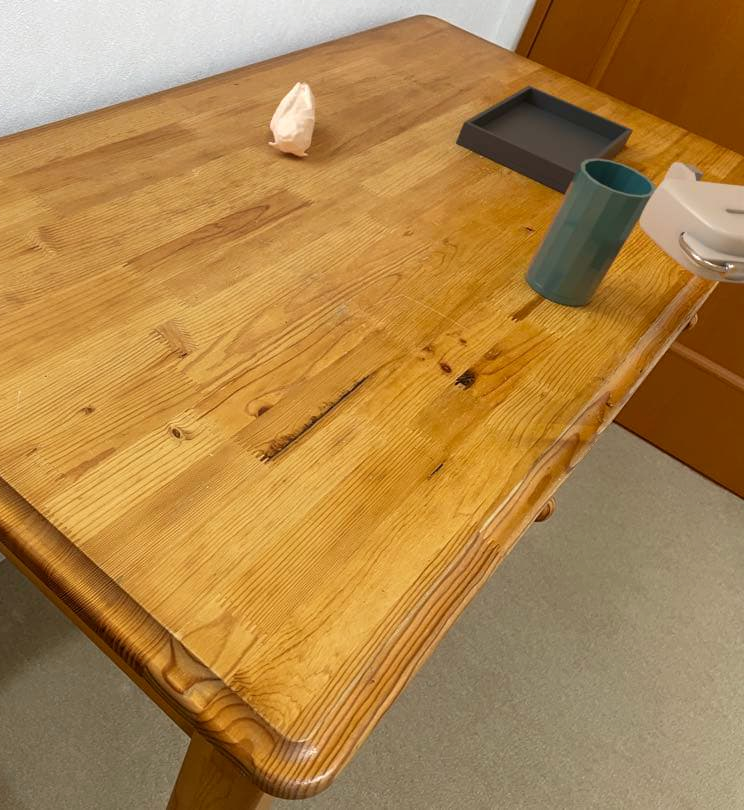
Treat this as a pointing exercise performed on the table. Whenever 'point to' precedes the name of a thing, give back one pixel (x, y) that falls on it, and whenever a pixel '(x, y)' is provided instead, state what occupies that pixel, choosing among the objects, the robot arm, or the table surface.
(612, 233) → the cup
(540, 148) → the tray
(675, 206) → the robot arm
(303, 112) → the white crumpled piece
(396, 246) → the table surface
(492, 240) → the table surface
